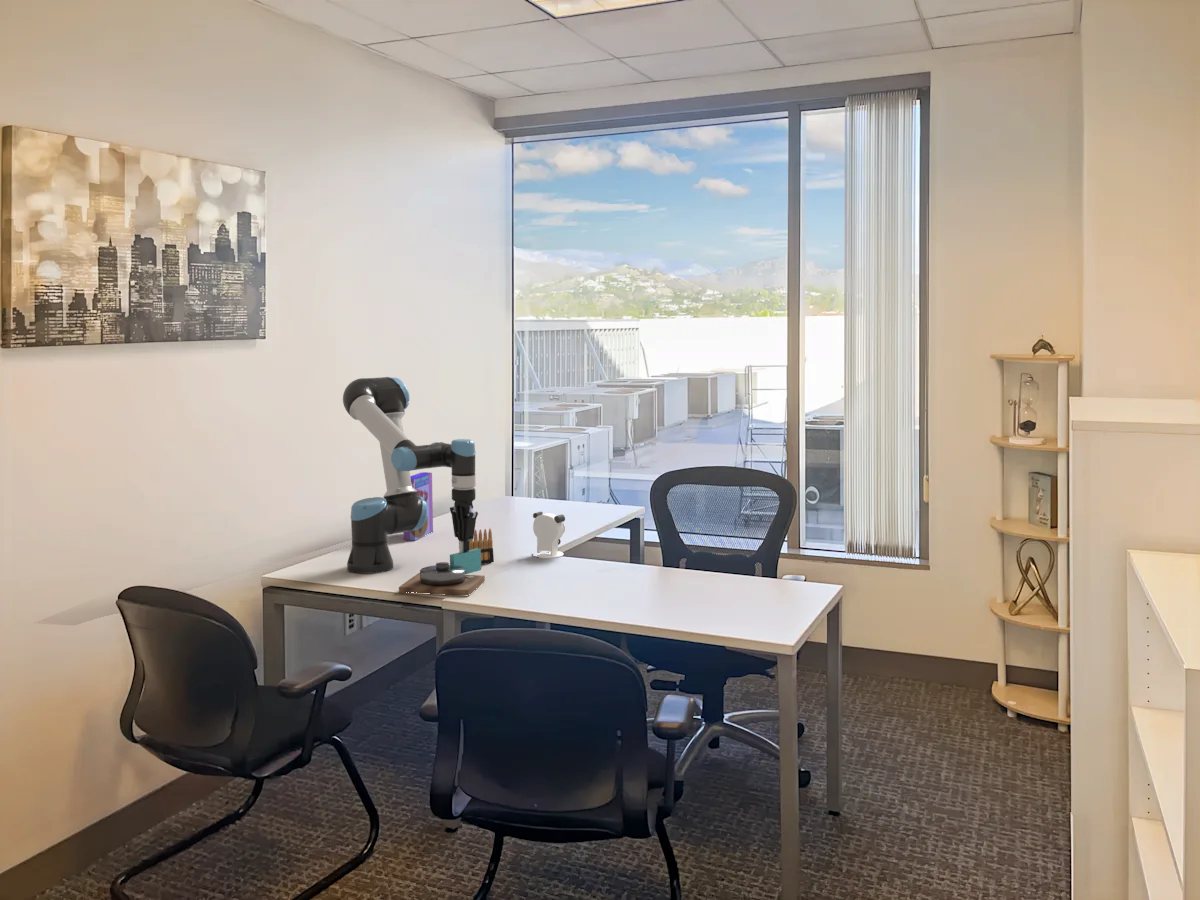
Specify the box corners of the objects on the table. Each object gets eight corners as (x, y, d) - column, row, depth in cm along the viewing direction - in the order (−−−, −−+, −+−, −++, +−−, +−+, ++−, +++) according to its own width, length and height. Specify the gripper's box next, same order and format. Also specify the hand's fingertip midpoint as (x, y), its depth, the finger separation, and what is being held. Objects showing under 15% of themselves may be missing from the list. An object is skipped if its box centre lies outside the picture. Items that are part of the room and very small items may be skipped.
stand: (399, 593, 307) (398, 586, 307) (418, 578, 325) (418, 572, 324) (468, 596, 303) (468, 589, 303) (484, 581, 321) (484, 574, 321)
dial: (441, 587, 304) (441, 564, 303) (410, 580, 313) (410, 558, 312) (494, 572, 322) (494, 551, 321) (464, 566, 330) (463, 545, 330)
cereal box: (415, 541, 382) (413, 478, 379) (403, 540, 383) (402, 478, 380) (433, 532, 399) (431, 472, 396) (421, 531, 400) (420, 472, 397)
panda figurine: (571, 554, 361) (571, 512, 359) (553, 560, 351) (552, 517, 350) (544, 550, 367) (543, 509, 365) (525, 555, 358) (525, 514, 356)
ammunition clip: (464, 565, 343) (464, 531, 341) (462, 564, 344) (462, 530, 343) (493, 562, 348) (493, 528, 346) (492, 561, 349) (491, 527, 348)
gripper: (442, 486, 322) (443, 558, 325) (464, 491, 313) (465, 565, 316) (462, 484, 327) (462, 555, 330) (484, 489, 318) (485, 562, 321)
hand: (464, 560), depth 323 cm, fingers closed
